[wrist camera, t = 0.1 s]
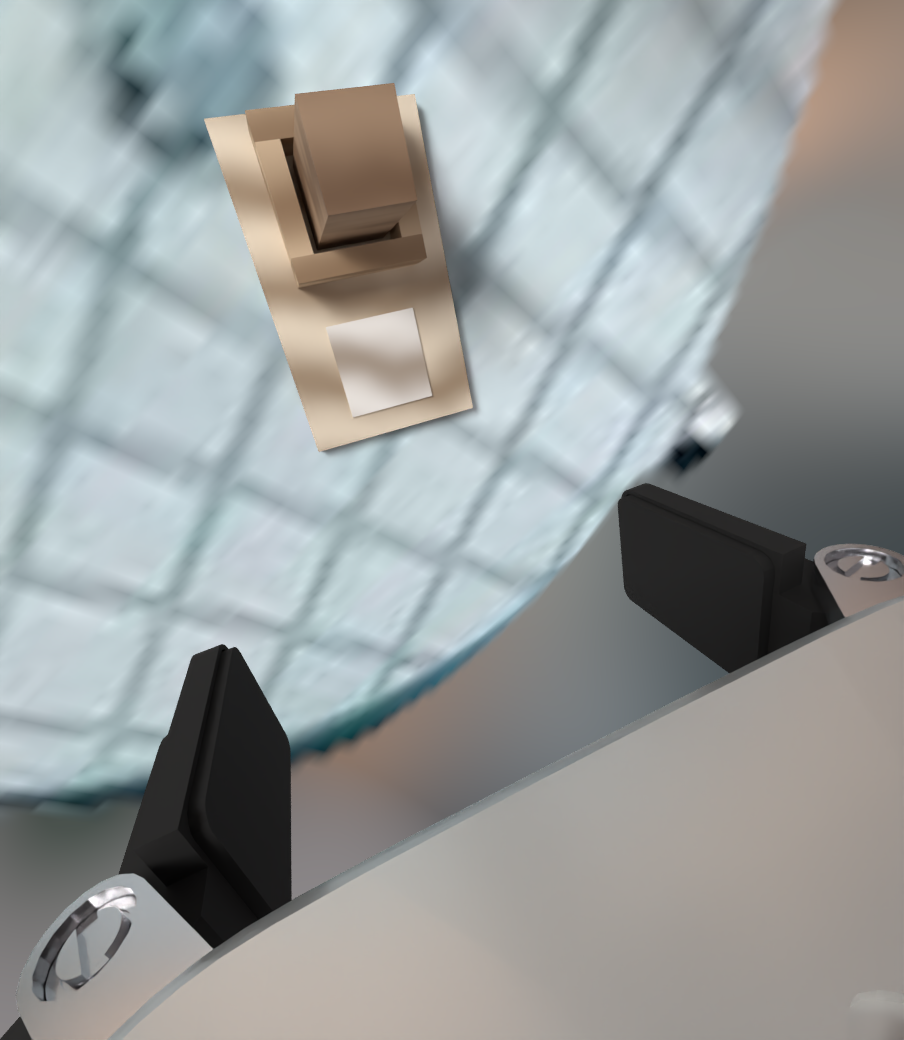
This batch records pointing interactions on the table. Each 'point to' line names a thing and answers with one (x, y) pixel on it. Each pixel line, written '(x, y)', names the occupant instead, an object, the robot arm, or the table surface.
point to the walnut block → (351, 163)
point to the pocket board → (348, 289)
